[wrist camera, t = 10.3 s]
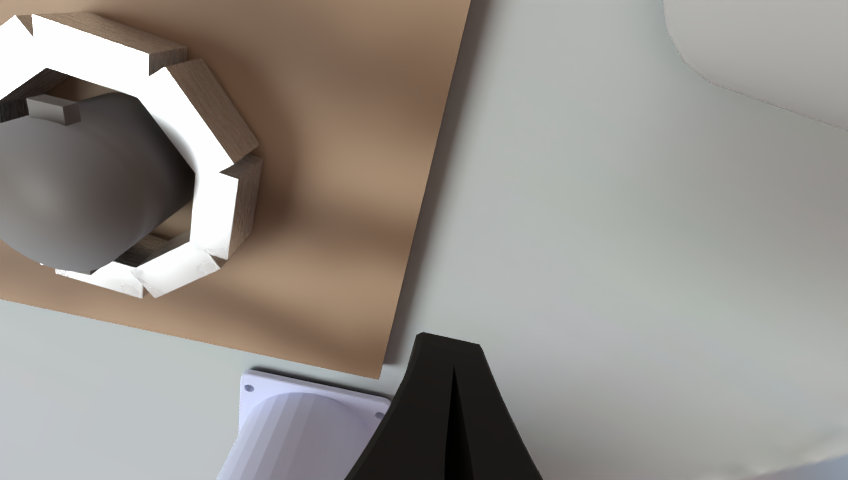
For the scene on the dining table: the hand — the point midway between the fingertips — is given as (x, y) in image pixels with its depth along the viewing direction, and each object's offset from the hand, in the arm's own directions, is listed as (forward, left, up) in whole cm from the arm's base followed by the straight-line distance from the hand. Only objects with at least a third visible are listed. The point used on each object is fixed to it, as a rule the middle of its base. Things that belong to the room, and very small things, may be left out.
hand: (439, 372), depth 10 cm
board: (-1, +12, -10) cm, 16 cm away
